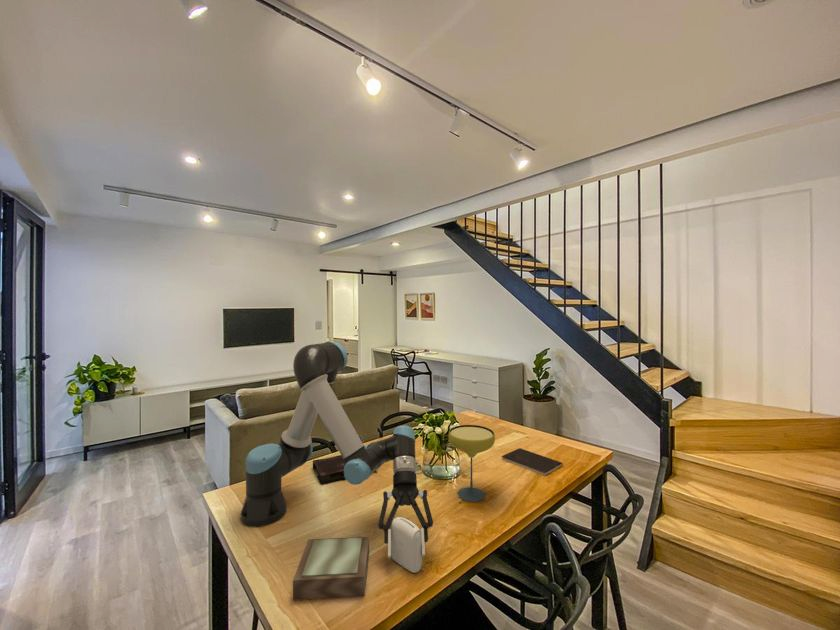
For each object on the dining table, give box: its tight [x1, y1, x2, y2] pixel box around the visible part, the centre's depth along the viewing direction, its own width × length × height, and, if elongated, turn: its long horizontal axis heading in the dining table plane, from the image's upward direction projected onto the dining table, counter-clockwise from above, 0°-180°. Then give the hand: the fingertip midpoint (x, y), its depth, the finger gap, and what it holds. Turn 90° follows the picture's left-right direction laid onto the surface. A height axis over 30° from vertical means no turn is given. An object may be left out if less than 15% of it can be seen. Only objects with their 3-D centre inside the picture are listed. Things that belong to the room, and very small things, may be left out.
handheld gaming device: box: [416, 460, 423, 475], centre depth 166 cm, size 9×1×15 cm
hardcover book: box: [501, 447, 563, 477], centre depth 170 cm, size 16×23×2 cm
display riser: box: [292, 536, 370, 601], centre depth 99 cm, size 18×16×5 cm
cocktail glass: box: [448, 424, 496, 503], centre depth 141 cm, size 18×18×25 cm
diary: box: [312, 454, 378, 485], centre depth 162 cm, size 19×25×5 cm
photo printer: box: [390, 516, 423, 573], centre depth 103 cm, size 10×4×12 cm, turn 47°
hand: (406, 556), depth 100 cm, fingers closed on photo printer, 9 cm apart
